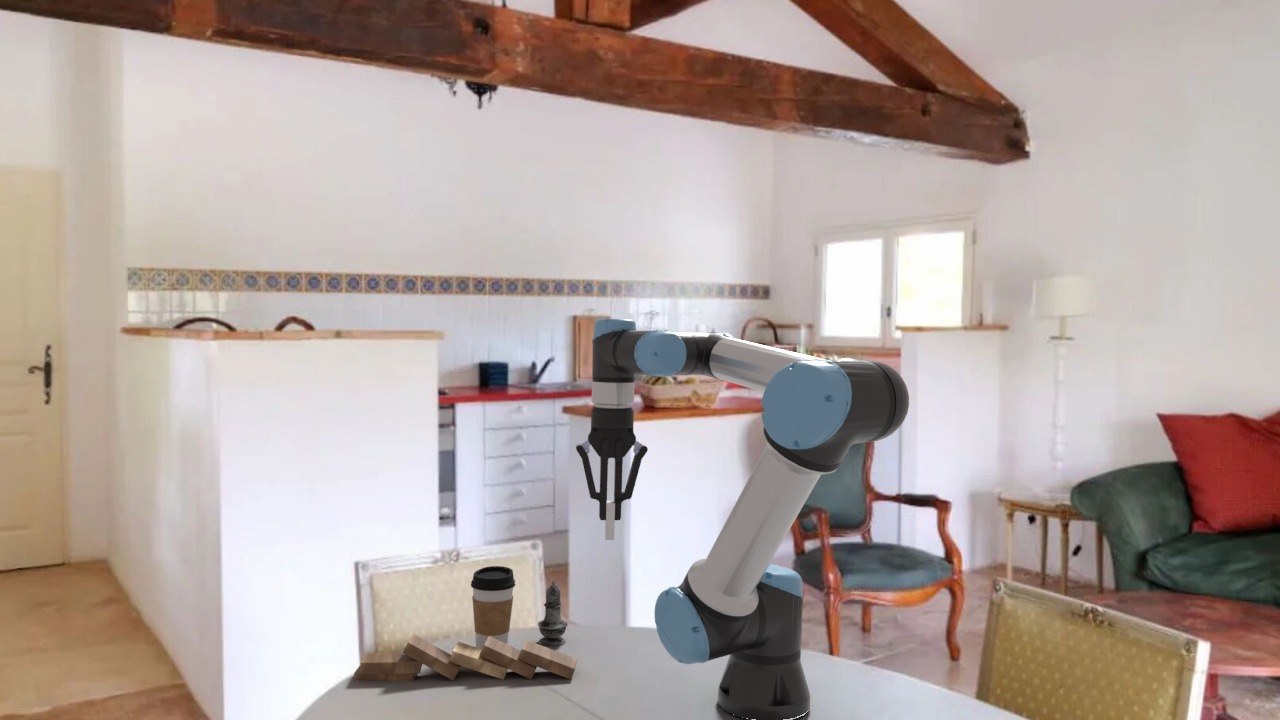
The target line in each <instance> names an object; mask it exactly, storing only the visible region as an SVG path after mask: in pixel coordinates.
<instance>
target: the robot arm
mask: <svg viewBox="0 0 1280 720" xmlns="http://www.w3.org/2000/svg"><path fill="white" fill-rule="evenodd" d="M591 342H592V368H591V369H592V371H591V372H592V381H591V403H592V404H593V405H594V406H592V408H591V411H590V412H591V414H590V415H591V416H590V431H589V433H588V436H587V439H586V440H585V441H583V442H581V443H577V444H576V445H575V449H576V452H577V453H578V455H579V456H580V459H581V460H582V465H583V471H584V474H585V479H586V484H587V488H588V494H589V497H590V499H593V500H594V501H595V500H596V501H598V503H599V505H598V507H599V509H598V510H599V513H598V516H599V519H600V521H605V523H604V524H605V525H604V529H605V530H604V538H605V541H615V522H616V521H620V520H621V518H622V504H623V502H624V501H626V500H630V499H632V498H633V494H634V489H635V486H636V481H637V479H638V474H639V471H640V467H641V463H642V459H643V458H644V457H645V455H646V454H647V452H648V450H649V449H648V447H647V446H646V444H643V443H641V442H639V441H638V440H637V436H636V434H635V432H634V423H635V422H634V419H635V418H634V416H635V415H634V414H635V413H634V411H635V409H633V407H632V405H634V403H635V379H636V378H635V377H636V376H635V375H643V376H650V377H654V378H657V377H660V378H661V377H662V378H665V377H672V376H679V375H680V376H687V375H689V376H691V375H692V376H693V375H694V376H706V377H709V378H713V379H717V380H721V381H724V382H727V383H732V384H735V385H738V386H741V387H745V388H748V389H751V390H755V391H758V392H762V393H763V394H762V398H761V408H763V412H761V419H762V424H763V428H762V436H763V439H764V441H765V444H766V446H765V447H764V449H763V451H762V452H761V455H760V456H759V458H758V460H757V462H756V464H755V466H754V468H753V470H752V472H751V474H750V475H749V478H748V479H747V481H746V483H745V485H744V487H743V489H742V491H741V493H740V495H739V496H738V498H737V500H736V502H735V504H734V505H733V507H732V509H731V511H730V513H729V515H728V517H727V519H726V521H725V523H724V525H723V526H722V529H721V530H720V532H719V534H718V536H717V538H716V539H715V541H714V543H713V545H712V547H711V549H710V551H709V552H708V554H707V556H706V558H700V559H697V560H696V561H695V562H693V563H692V564H691V566H690V567H689V569H688V571H687V573H686V575H685V576H684V578H683V580H682V582H681V583H680V585H678V586H676V587H675V586H669V587H668V588H667V589H664V590H662V591H661V593H660V594H659V595H658V596H657V598H656V600H655V605H654V623H655V626H656V632H657V635H658V637H659V640H660V642H661V644H662V646H663V647H664V650H665V651H666V652H667V654H668V655H669V656H670V657H671V658H673V659H674V660H675V661H676V662H678V663H680V664H685V665H694V664H698V663H699V664H704V663H707V662H708V661H712V660H715V659H720V658H723V657H726V656H729V657H728V659H727V661H726V662H727V663H726V665H725V668H724V671H723V673H722V676H721V679H720V683H719V685H718V688H717V689H718V690H717V704H718V705H720V706H721V707H720V706H719V707H720V708H721V709H722V710H723V709H724V710H725V711H724V710H723V711H724V712H726V711H727V712H726V713H728V714H729V713H731V714H730V715H732V714H734V715H736V716H739V717H743V718H748V719H756V720H783V719H790V718H795V717H797V716H800V715H802V714H804V713H806V712H807V711H808V710H809V708H810V709H811V694H810V693H811V691H810V690H809V687H808V683H807V679H806V675H805V672H804V669H803V666H802V662H801V659H802V658H801V653H802V652H801V651H802V631H803V630H802V629H803V627H802V626H803V608H804V607H803V603H804V599H805V597H804V594H803V590H804V589H803V579H802V576H801V575H800V574H799V573H798V572H797V571H795V570H793V569H791V568H788V567H785V566H782V565H781V566H780V565H777V564H772V561H773V559H774V557H775V555H776V554H777V552H778V551H779V548H780V547H781V545H782V543H783V541H784V540H785V538H786V537H787V535H788V532H789V531H790V530H791V528H792V526H793V524H794V522H795V520H796V519H797V517H798V516H799V514H800V513H801V510H802V509H803V507H804V505H805V503H806V501H807V500H808V499H809V497H810V495H811V493H812V492H813V490H814V489H815V486H816V484H817V483H818V480H819V479H820V477H821V476H822V475H829V474H833V473H835V472H836V471H837V470H838V468H839V467H840V465H841V464H842V462H843V460H844V459H845V457H846V455H847V454H848V451H849V450H850V448H851V447H852V446H853V445H854V444H863V443H864V444H865V443H871V442H872V443H873V442H878V441H880V440H884V439H886V438H888V437H889V436H891V435H893V434H894V433H895V432H896V431H897V430H898V429H899V428H900V427H902V424H903V423H904V422H905V419H906V417H907V415H908V412H909V408H910V407H909V406H910V395H909V390H908V387H907V384H906V382H905V381H904V379H903V377H902V376H901V375H900V373H899V372H897V370H896V369H894V368H893V367H892V366H890V365H888V364H885V363H883V362H880V361H876V360H869V359H856V358H855V359H854V358H851V357H845V358H841V359H839V360H829V359H825V358H822V357H821V358H820V357H818V356H817V357H816V356H812V355H809V354H808V355H807V354H803V353H799V352H795V351H790V350H786V349H781V348H777V347H773V346H769V345H764V344H760V343H757V342H752V341H747V340H744V339H743V340H742V339H739V338H735V336H734V335H732V334H730V333H726V332H719V331H709V332H708V331H707V332H705V331H704V332H703V331H701V332H700V331H697V332H696V331H690V332H689V331H672V330H658V329H656V330H654V329H653V330H637V323H636V321H635V320H634V319H630V318H598V319H596V320H595V322H594V324H593V338H592V341H591ZM590 446H591V447H592V449H593V450H594V451H595V452H596V455H598V457H599V458H600V461H599V462H600V463H599V464H600V465H599V466H600V467H599V491H597V490H596V485H595V480H594V477H593V471H592V467H591V462H590V458H589V455H588V454H589V453H590V451H591V449H590ZM632 447H633V449H632ZM631 449H632V451H633V453H634V455H633V458H632V461H631V467H630V469H629V473H628V476H627V482H626V485H625V488H624V491H622V490H623V463H624V461H623V460H624V457H626V455H627V454H628V452H629V451H630V450H631ZM609 459H614V479H613V480H614V481H613V482H614V486H613V488H614V489H613V500H608V474H609V473H608V472H609V471H608V469H609V467H608V466H609ZM809 711H810V710H809ZM734 715H733V716H734ZM736 716H735V717H736ZM739 717H738V718H739ZM743 718H742V719H743Z"/></svg>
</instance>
